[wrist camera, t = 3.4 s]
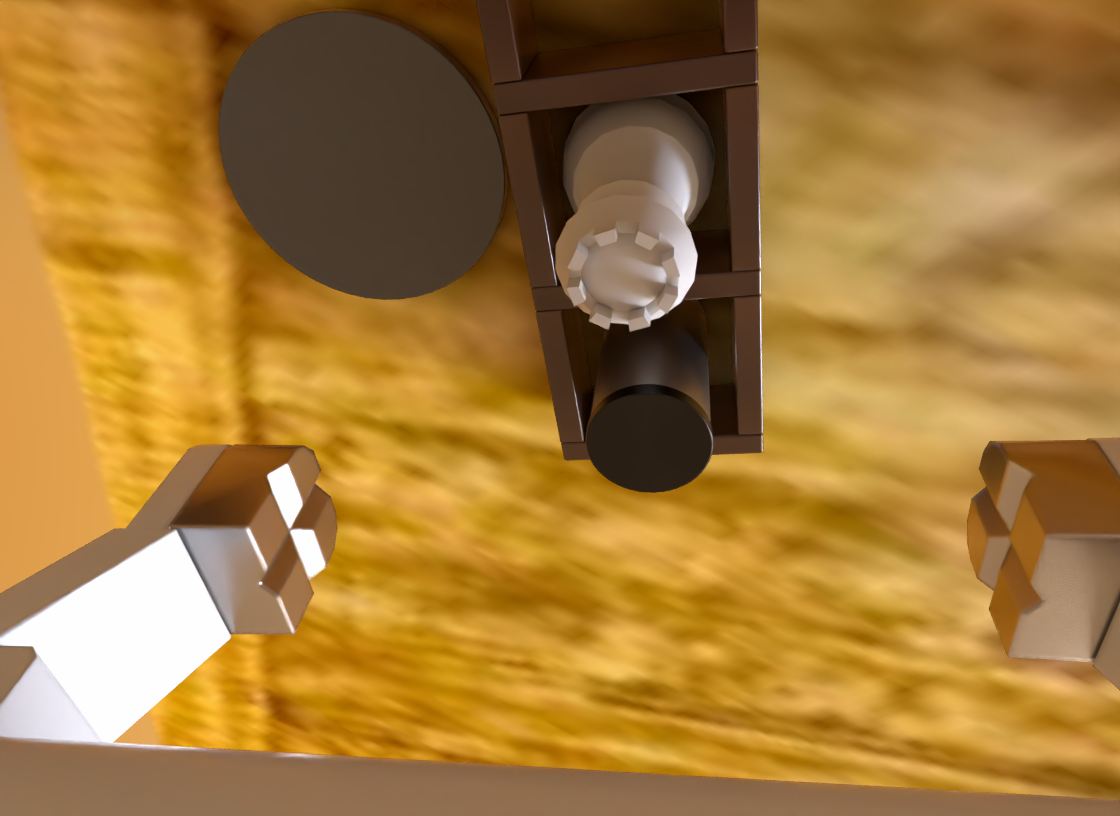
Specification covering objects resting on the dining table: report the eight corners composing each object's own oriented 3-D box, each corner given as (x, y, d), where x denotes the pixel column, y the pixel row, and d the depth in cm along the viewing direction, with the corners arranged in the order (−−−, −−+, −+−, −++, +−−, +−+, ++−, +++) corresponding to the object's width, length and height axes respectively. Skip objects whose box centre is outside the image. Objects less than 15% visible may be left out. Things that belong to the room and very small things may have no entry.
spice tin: (649, 259, 26) (640, 370, 21) (730, 320, 27) (740, 441, 22) (583, 331, 28) (560, 449, 23) (661, 386, 29) (656, 512, 24)
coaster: (298, -66, 22) (291, -65, 22) (565, 142, 24) (563, 147, 24) (184, 185, 27) (176, 191, 26) (417, 339, 29) (413, 346, 29)
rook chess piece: (747, 144, 24) (770, 267, 17) (650, 254, 26) (639, 398, 20) (625, 45, 23) (601, 139, 16) (536, 171, 25) (484, 296, 19)
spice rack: (467, -196, 20) (437, -197, 18) (745, -251, 19) (754, -259, 16) (573, 409, 30) (563, 461, 28) (757, 400, 29) (763, 453, 27)
